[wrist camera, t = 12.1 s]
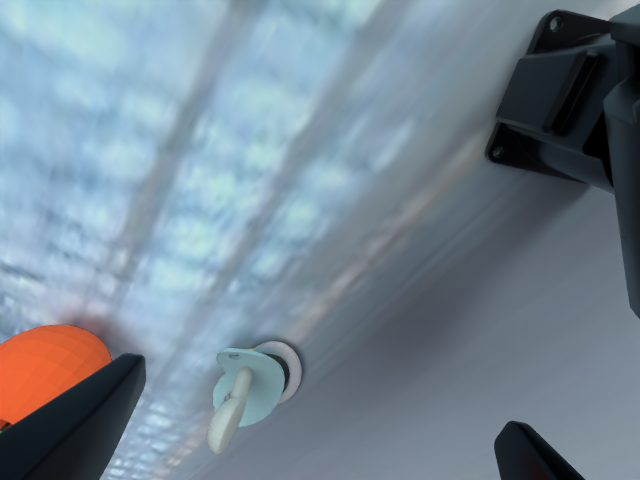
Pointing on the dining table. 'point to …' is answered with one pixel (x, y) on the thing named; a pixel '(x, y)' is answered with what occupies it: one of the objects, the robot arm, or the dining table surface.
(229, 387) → the pacifier
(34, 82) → the dining table surface
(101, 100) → the dining table surface
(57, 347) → the clementine
